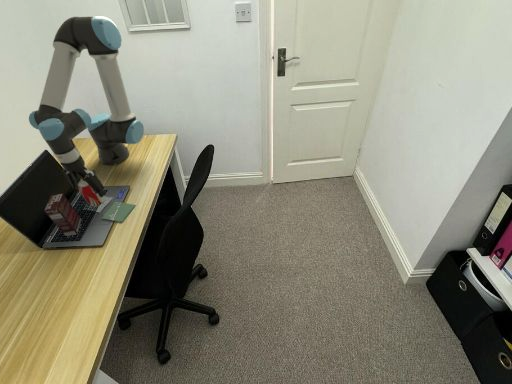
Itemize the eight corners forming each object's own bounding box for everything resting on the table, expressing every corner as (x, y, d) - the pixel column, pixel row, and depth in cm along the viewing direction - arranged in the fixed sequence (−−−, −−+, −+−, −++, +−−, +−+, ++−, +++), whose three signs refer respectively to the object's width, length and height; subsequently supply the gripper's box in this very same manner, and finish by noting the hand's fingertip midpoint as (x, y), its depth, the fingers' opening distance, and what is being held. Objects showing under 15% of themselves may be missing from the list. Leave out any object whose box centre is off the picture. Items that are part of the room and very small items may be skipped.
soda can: (99, 208, 122) (87, 188, 114) (85, 207, 123) (72, 186, 115) (109, 197, 127) (97, 177, 119) (95, 196, 128) (82, 175, 120)
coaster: (115, 202, 125) (115, 201, 125) (135, 205, 123) (135, 204, 123) (102, 219, 118) (101, 218, 117) (122, 222, 116) (122, 221, 115)
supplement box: (71, 222, 117) (50, 195, 107) (83, 220, 118) (63, 192, 107) (65, 238, 111) (42, 210, 100) (78, 235, 112) (57, 208, 101)
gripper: (41, 161, 108) (71, 203, 124) (85, 166, 104) (110, 209, 119) (56, 150, 113) (82, 192, 129) (98, 155, 109) (120, 197, 125)
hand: (96, 200), depth 124 cm, fingers closed on soda can, 7 cm apart
